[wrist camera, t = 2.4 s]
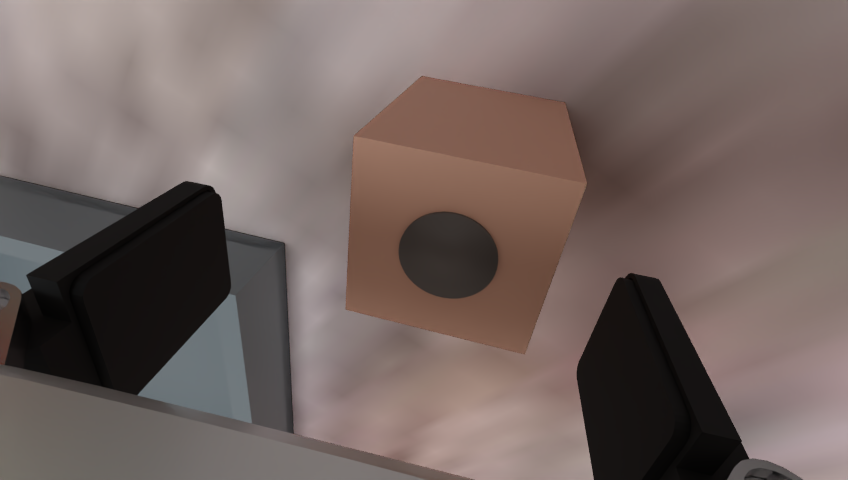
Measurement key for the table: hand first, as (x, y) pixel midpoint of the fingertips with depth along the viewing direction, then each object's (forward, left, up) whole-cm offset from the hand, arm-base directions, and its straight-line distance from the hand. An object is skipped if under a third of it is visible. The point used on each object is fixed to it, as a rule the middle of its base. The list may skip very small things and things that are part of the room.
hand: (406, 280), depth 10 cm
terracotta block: (-1, -1, -8) cm, 8 cm away
